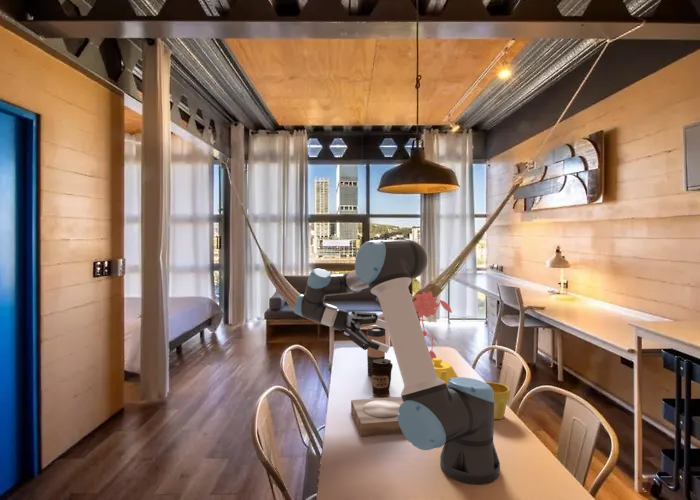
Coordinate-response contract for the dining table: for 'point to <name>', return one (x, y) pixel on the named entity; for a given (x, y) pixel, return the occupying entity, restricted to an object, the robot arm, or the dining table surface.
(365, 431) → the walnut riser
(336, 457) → the dining table surface
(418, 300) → the figurine
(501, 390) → the plant pot
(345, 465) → the dining table surface
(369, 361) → the travel mug
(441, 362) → the teapot
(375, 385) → the coffee cup
